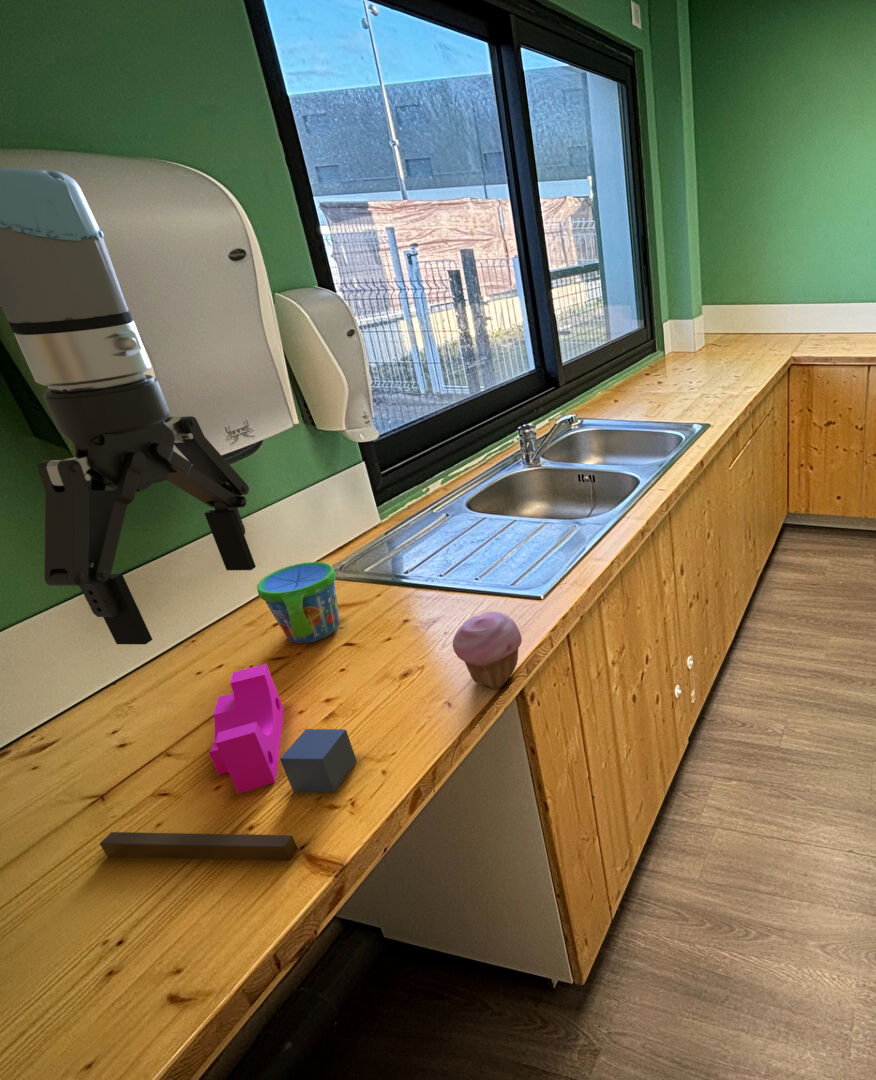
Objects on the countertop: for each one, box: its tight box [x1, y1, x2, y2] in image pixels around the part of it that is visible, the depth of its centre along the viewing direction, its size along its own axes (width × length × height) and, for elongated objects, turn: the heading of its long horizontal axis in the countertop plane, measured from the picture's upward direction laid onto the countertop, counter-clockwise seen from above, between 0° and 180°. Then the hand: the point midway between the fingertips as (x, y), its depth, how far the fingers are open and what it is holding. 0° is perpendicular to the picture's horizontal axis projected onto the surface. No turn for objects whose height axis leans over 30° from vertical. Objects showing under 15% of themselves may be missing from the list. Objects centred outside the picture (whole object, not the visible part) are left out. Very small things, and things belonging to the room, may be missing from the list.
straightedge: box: [99, 831, 299, 861], centre depth 73 cm, size 20×2×2 cm, turn 87°
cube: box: [279, 728, 358, 793], centre depth 82 cm, size 5×5×5 cm
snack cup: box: [256, 561, 340, 644], centre depth 110 cm, size 16×10×10 cm
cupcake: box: [452, 611, 523, 689], centre depth 97 cm, size 9×9×10 cm
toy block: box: [208, 663, 285, 794], centre depth 85 cm, size 15×6×8 cm, turn 26°
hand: (193, 602), depth 67 cm, fingers open, 13 cm apart
